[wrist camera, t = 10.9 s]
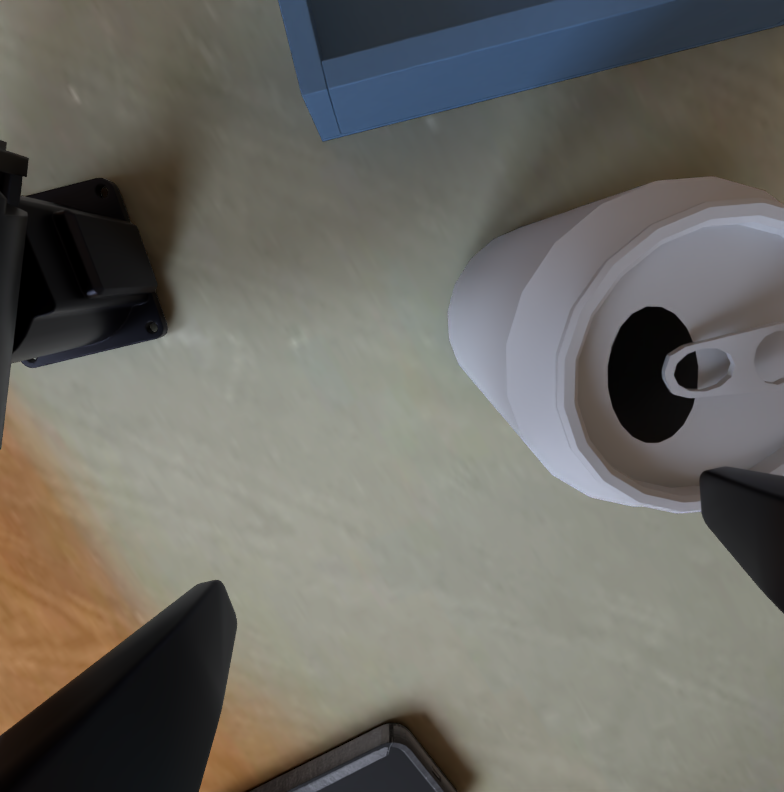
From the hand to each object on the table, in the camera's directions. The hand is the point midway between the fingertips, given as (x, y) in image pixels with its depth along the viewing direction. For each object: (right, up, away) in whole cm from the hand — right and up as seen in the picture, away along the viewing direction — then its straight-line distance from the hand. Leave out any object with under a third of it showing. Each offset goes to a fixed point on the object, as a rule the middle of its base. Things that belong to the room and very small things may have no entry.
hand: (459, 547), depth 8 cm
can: (+5, +6, +12) cm, 14 cm away
